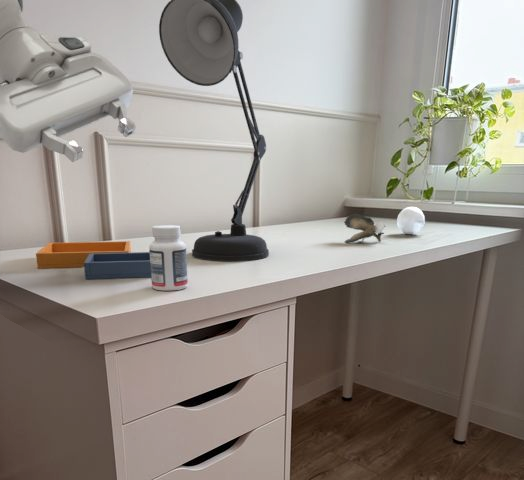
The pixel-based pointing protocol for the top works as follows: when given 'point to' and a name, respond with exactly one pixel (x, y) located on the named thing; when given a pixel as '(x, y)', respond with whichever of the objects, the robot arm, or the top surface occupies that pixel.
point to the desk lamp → (207, 74)
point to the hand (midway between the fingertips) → (106, 143)
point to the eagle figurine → (363, 227)
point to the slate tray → (117, 265)
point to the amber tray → (76, 253)
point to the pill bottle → (168, 259)
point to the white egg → (410, 220)
